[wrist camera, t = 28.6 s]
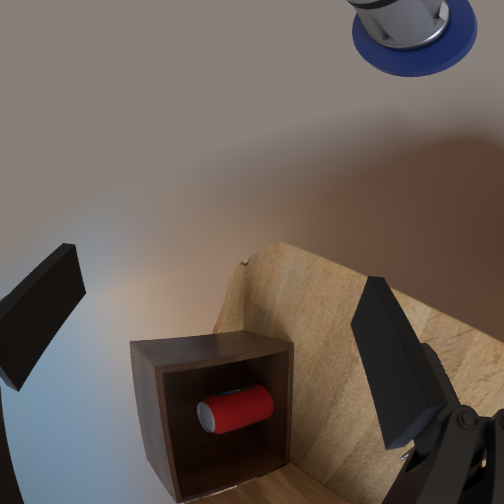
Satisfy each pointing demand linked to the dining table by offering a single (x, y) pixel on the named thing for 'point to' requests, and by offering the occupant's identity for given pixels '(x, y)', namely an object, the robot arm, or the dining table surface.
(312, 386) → the dining table surface
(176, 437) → the cabinet
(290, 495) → the cabinet door
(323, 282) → the dining table surface
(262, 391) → the beverage can
